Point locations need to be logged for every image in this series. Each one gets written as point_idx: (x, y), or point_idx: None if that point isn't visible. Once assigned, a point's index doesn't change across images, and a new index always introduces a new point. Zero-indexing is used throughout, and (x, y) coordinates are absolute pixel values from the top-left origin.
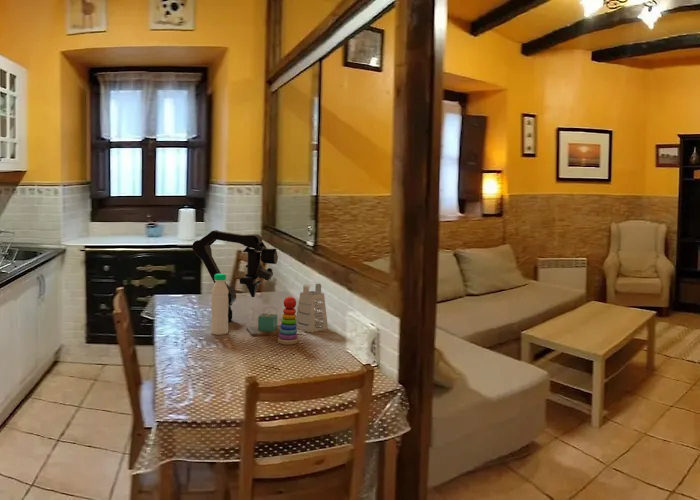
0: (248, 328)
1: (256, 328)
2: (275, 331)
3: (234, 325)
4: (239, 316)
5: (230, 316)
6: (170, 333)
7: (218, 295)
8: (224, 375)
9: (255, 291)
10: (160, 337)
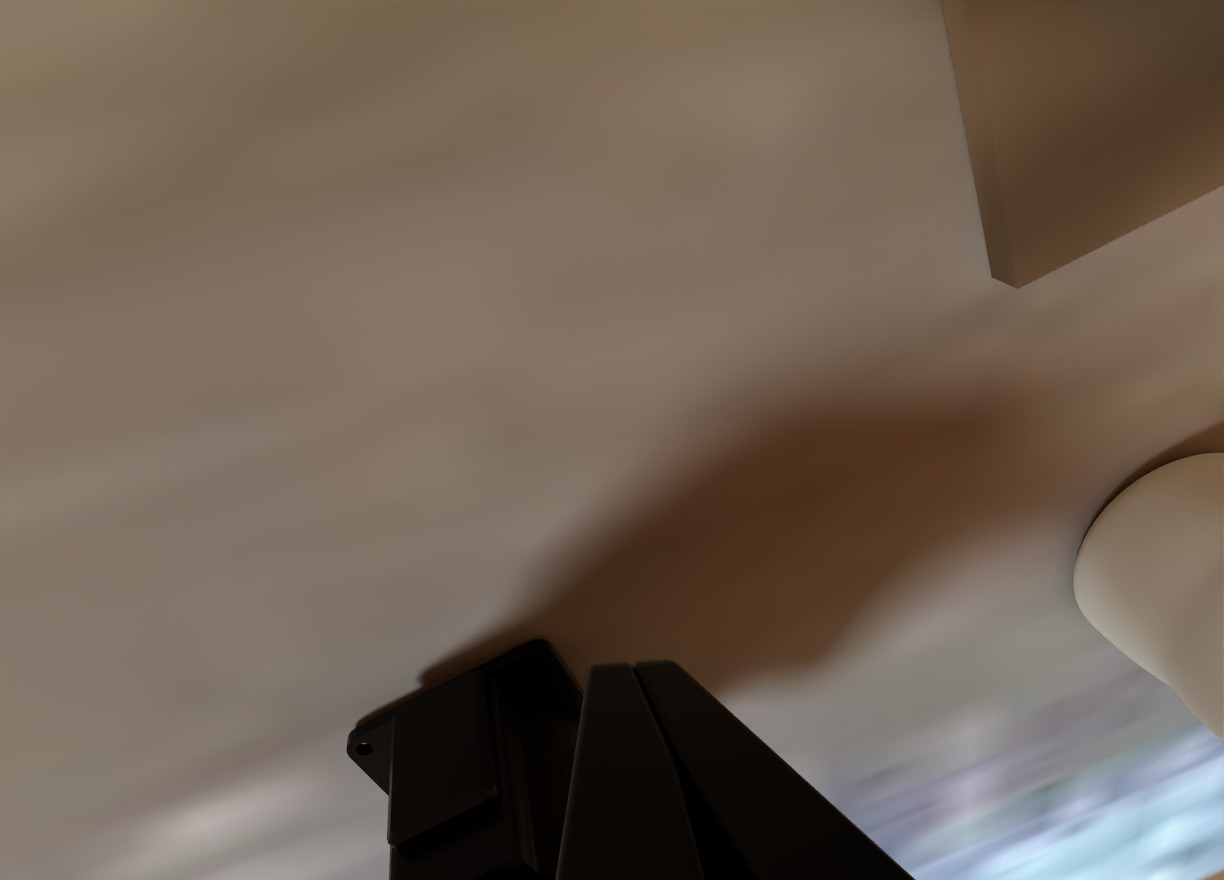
0: (1120, 221)
1: (1137, 70)
2: None
3: (757, 520)
4: (95, 671)
5: (508, 718)
6: (1104, 874)
7: None
8: None
9: (693, 872)
10: (1217, 867)
